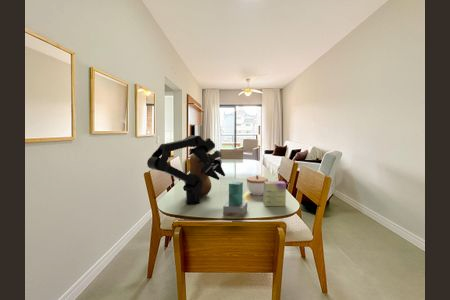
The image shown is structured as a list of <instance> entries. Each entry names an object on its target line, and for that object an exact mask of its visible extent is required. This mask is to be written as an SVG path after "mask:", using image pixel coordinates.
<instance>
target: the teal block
mask: <svg viewBox="0 0 450 300" xmlns="http://www.w3.org/2000/svg"><path fill="white" fill-rule="evenodd" d="M243 182H244V181H234V180H233V181H231V182H229V183H228V201H229V205H234V206H240V205H241V204H242V202H244V201H243V198H244V197H243V194H244V193H243V192H244V190H243V188H244V187H243V186H244V185H243V184H244V183H243Z"/></svg>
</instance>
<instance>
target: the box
mask: <svg viewBox="0 0 450 300" xmlns="http://www.w3.org/2000/svg"><path fill="white" fill-rule="evenodd" d="M286 194H287V183H286V182H285V181H284V180H283V181H282V180H274V181H273V180H271V181H270V180H268V181H264V193H263V204H264V206H265V207H286V206H287V205H286V203H287V202H286V200H287V199H286V197H287V195H286Z"/></svg>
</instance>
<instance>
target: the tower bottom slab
mask: <svg viewBox="0 0 450 300" xmlns="http://www.w3.org/2000/svg"><path fill="white" fill-rule="evenodd" d="M222 211H223V210H222ZM247 211H248V207H247V208H246V210H245V211H244V212H243V214H239V213H232V212H224V211H223V212H222V213H223V214H222V215H223V216H226V217H234V218H241V217H242V218H244V216H245V214H246V213H247Z"/></svg>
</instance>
